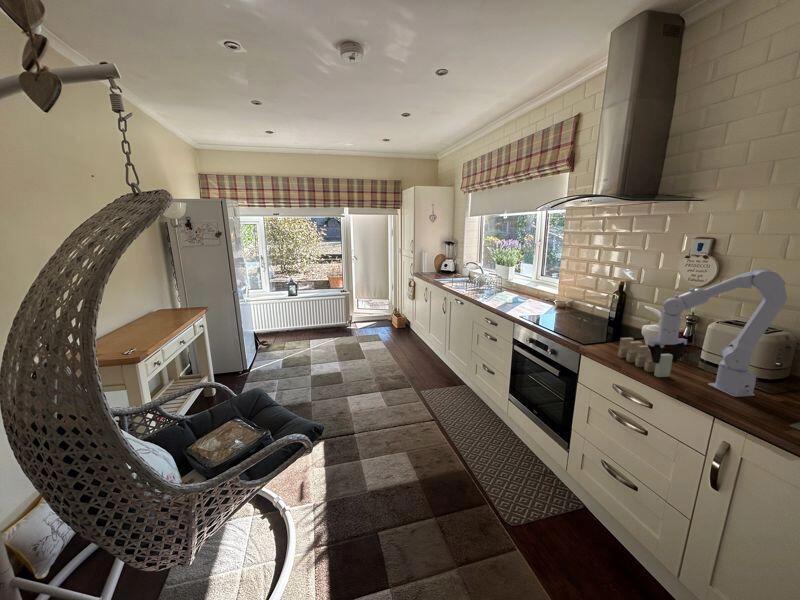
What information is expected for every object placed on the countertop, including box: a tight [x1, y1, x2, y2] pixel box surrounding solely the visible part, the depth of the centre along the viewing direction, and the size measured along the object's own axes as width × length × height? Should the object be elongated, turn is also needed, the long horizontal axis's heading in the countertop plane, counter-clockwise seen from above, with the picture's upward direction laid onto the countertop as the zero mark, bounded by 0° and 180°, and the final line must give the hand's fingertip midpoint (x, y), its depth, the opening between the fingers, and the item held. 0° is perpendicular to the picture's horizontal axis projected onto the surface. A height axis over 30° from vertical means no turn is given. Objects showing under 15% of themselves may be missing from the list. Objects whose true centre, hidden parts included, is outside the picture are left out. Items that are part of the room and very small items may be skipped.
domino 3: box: [634, 344, 650, 368], centre depth 141 cm, size 2×5×9 cm, turn 95°
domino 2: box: [625, 340, 644, 363], centre depth 146 cm, size 2×5×9 cm, turn 95°
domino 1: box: [617, 337, 634, 359], centre depth 151 cm, size 2×5×9 cm, turn 95°
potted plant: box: [641, 305, 665, 349], centre depth 161 cm, size 13×12×25 cm
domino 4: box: [643, 350, 656, 373], centre depth 136 cm, size 2×5×9 cm, turn 95°
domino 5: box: [653, 353, 673, 378], centre depth 131 cm, size 2×5×9 cm, turn 95°
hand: (664, 362), depth 131 cm, fingers open, 7 cm apart
